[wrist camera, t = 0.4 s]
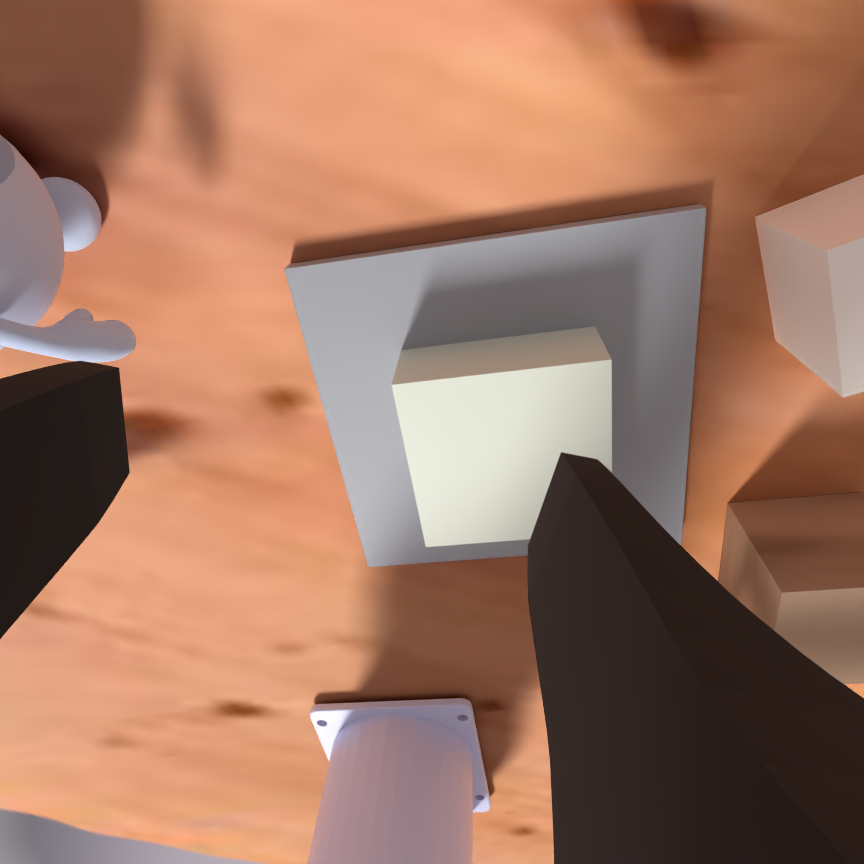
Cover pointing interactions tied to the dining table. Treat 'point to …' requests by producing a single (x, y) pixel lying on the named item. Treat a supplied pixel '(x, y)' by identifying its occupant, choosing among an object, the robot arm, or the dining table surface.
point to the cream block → (819, 281)
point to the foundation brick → (499, 427)
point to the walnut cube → (802, 574)
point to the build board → (497, 318)
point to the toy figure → (47, 264)
